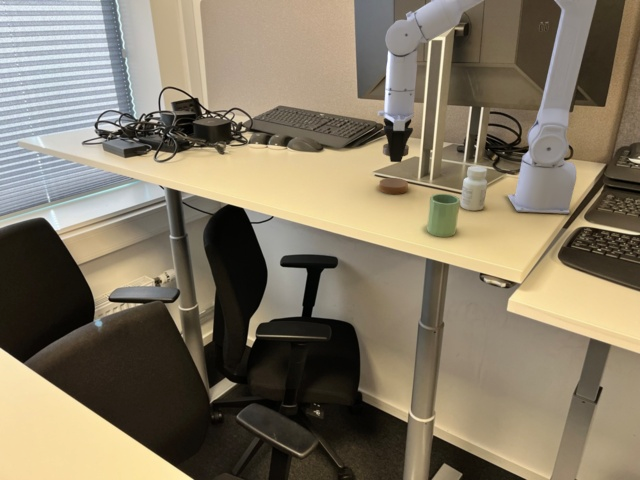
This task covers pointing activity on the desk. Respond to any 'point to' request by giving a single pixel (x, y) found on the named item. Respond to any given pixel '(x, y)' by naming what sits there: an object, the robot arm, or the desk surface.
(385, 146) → the brown round lid
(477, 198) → the pill bottle
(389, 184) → the teak chip
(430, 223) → the plastic cup
